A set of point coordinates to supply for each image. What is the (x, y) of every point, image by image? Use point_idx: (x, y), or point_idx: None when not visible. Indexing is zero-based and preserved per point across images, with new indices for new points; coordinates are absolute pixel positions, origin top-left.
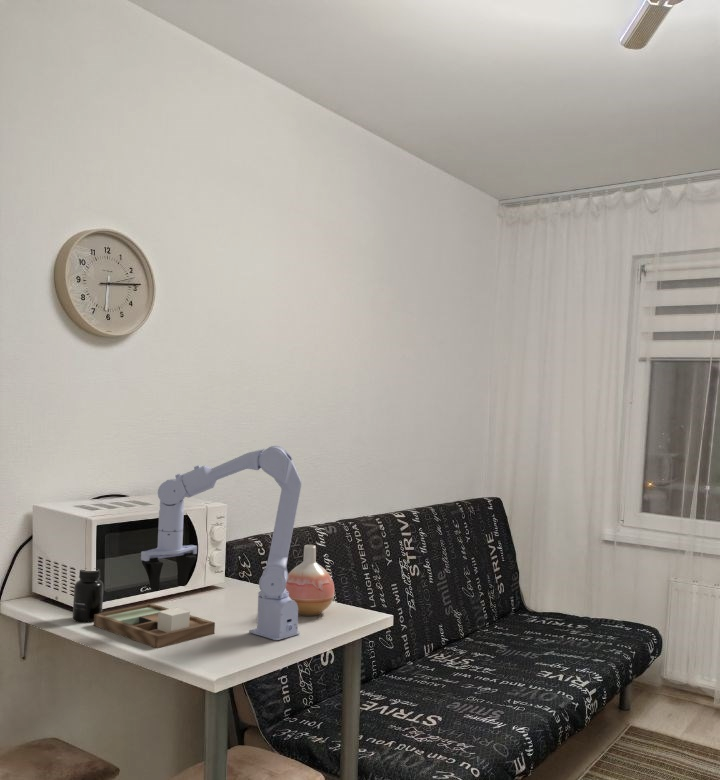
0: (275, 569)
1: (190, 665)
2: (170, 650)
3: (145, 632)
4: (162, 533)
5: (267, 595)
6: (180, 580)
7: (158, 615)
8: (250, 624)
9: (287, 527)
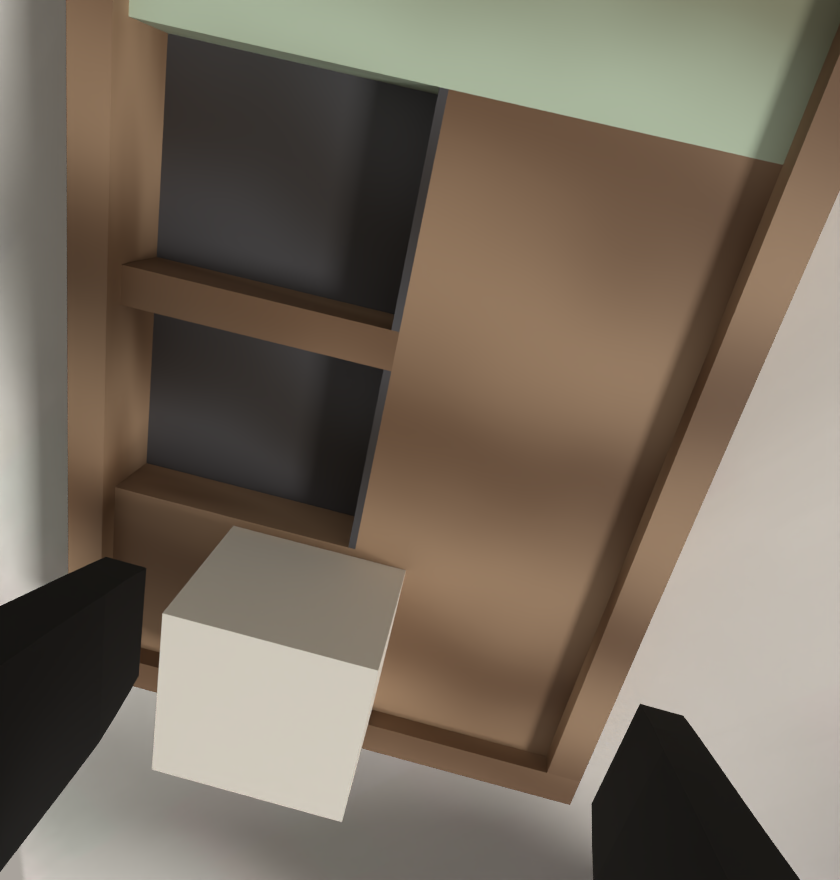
0: None
1: (63, 858)
2: (143, 690)
3: (70, 546)
4: None
5: None
6: (633, 830)
7: (181, 594)
8: None
9: None
